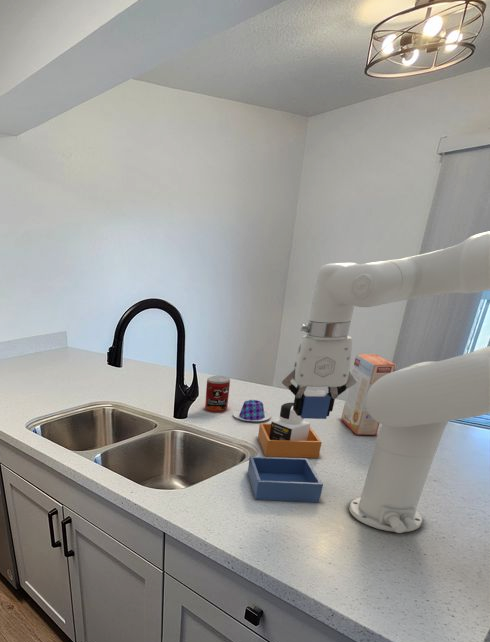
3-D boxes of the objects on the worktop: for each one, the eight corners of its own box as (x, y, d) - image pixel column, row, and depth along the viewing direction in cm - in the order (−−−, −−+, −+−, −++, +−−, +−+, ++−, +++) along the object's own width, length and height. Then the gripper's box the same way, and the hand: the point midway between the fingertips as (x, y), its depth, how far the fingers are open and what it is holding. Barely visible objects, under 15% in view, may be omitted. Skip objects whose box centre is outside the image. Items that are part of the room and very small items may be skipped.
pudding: (259, 409, 152) (261, 395, 149) (278, 421, 141) (280, 405, 139) (226, 413, 150) (228, 398, 148) (243, 425, 140) (245, 409, 138)
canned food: (204, 412, 153) (206, 381, 148) (205, 405, 159) (207, 375, 154) (227, 413, 151) (230, 382, 146) (227, 405, 157) (230, 375, 152)
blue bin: (319, 502, 96) (323, 484, 94) (255, 499, 99) (258, 481, 97) (304, 475, 108) (307, 458, 106) (247, 473, 110) (249, 456, 108)
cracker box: (377, 436, 126) (397, 364, 117) (355, 435, 128) (372, 364, 118) (360, 419, 139) (377, 353, 129) (340, 419, 140) (355, 353, 130)
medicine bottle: (267, 443, 124) (273, 403, 119) (286, 438, 127) (292, 399, 121) (287, 452, 119) (294, 410, 113) (306, 446, 121) (314, 405, 116)
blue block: (326, 419, 95) (331, 396, 93) (301, 418, 96) (305, 396, 94) (320, 411, 99) (324, 390, 97) (296, 411, 100) (300, 390, 98)
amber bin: (318, 457, 116) (321, 442, 114) (265, 456, 119) (267, 440, 116) (305, 438, 128) (308, 424, 125) (257, 437, 130) (259, 423, 128)
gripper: (286, 333, 88) (273, 418, 96) (381, 332, 84) (359, 420, 92) (280, 327, 94) (268, 408, 102) (367, 326, 90) (348, 409, 99)
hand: (311, 413), depth 97 cm, fingers closed on blue block, 5 cm apart
